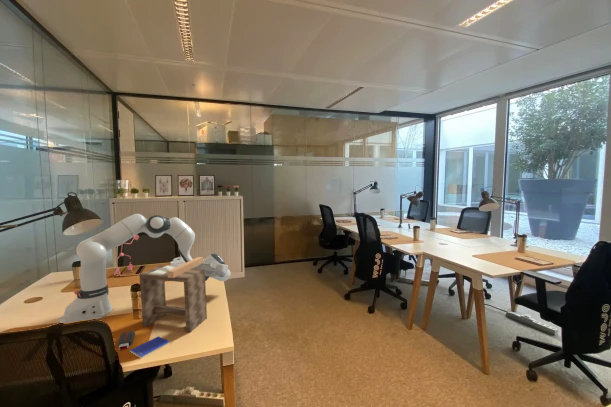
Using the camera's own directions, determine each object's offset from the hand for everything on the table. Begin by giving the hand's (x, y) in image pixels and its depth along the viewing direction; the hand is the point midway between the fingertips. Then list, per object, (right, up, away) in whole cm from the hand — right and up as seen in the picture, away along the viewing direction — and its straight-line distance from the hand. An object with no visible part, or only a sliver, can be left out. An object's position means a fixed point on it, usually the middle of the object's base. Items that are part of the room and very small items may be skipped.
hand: (201, 264), depth 159 cm
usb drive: (-23, -29, -30) cm, 47 cm away
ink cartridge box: (-36, -20, +54) cm, 68 cm away
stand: (-8, -26, -13) cm, 30 cm away
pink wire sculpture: (-83, -20, +64) cm, 107 cm away
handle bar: (-3, 0, -13) cm, 13 cm away
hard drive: (-10, -29, -34) cm, 46 cm away
